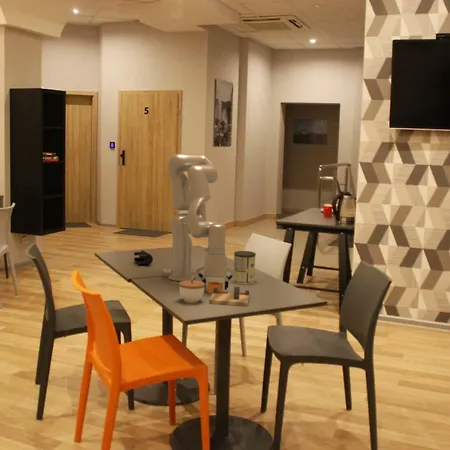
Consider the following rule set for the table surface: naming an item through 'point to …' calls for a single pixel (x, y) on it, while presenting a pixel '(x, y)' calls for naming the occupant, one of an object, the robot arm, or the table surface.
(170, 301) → the table surface
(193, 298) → the lidded jar
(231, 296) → the wooden peg board
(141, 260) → the end cap
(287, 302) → the table surface
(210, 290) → the orange short cylinder
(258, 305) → the table surface
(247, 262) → the coffee can
